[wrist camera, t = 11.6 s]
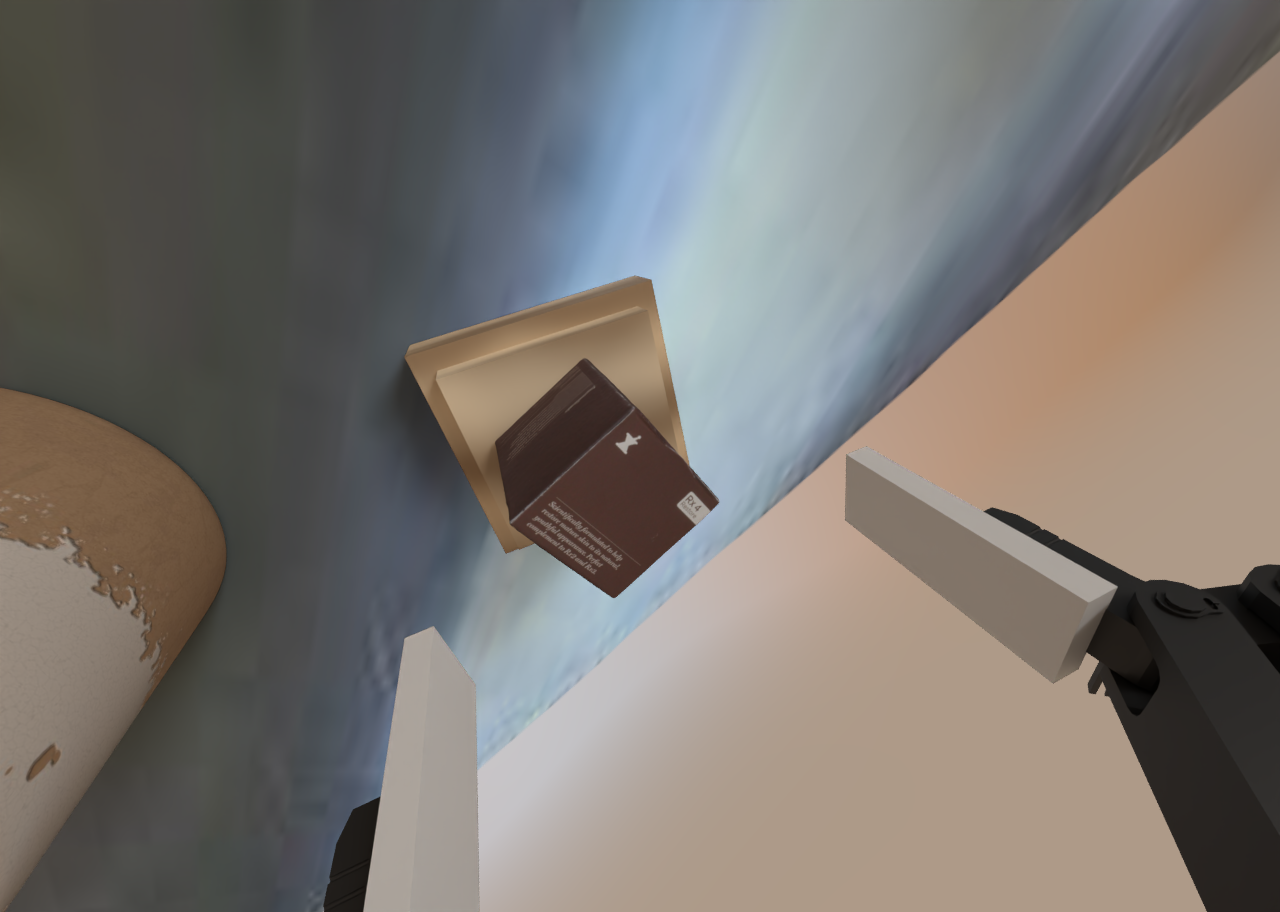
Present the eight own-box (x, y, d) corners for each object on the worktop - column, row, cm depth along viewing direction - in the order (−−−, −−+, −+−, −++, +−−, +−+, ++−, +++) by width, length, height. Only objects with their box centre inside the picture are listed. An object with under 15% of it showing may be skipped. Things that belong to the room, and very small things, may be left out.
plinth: (409, 345, 22) (400, 365, 19) (634, 275, 24) (662, 282, 21) (502, 529, 28) (508, 570, 25) (675, 460, 30) (702, 488, 27)
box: (490, 439, 21) (502, 523, 15) (584, 352, 21) (636, 402, 15) (575, 509, 25) (613, 603, 18) (657, 435, 24) (724, 505, 18)
